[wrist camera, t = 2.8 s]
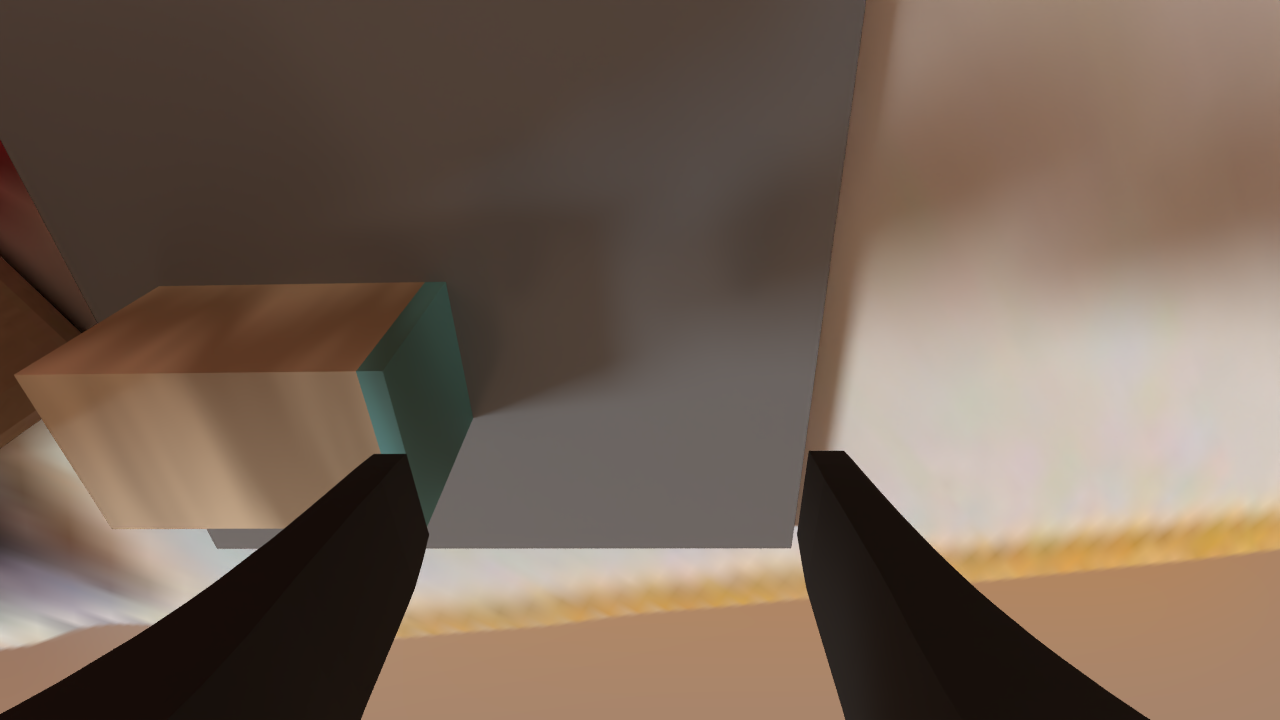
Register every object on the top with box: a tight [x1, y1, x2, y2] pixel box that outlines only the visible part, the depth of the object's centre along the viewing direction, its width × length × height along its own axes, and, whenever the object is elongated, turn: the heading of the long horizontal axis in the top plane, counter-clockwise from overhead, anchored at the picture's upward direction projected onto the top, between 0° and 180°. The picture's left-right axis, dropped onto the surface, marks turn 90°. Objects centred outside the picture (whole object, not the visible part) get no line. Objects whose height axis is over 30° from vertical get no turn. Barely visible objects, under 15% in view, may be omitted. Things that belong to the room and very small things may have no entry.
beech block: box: [14, 282, 473, 529], centre depth 14 cm, size 4×4×7 cm
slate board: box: [0, 0, 866, 549], centre depth 16 cm, size 18×16×1 cm
